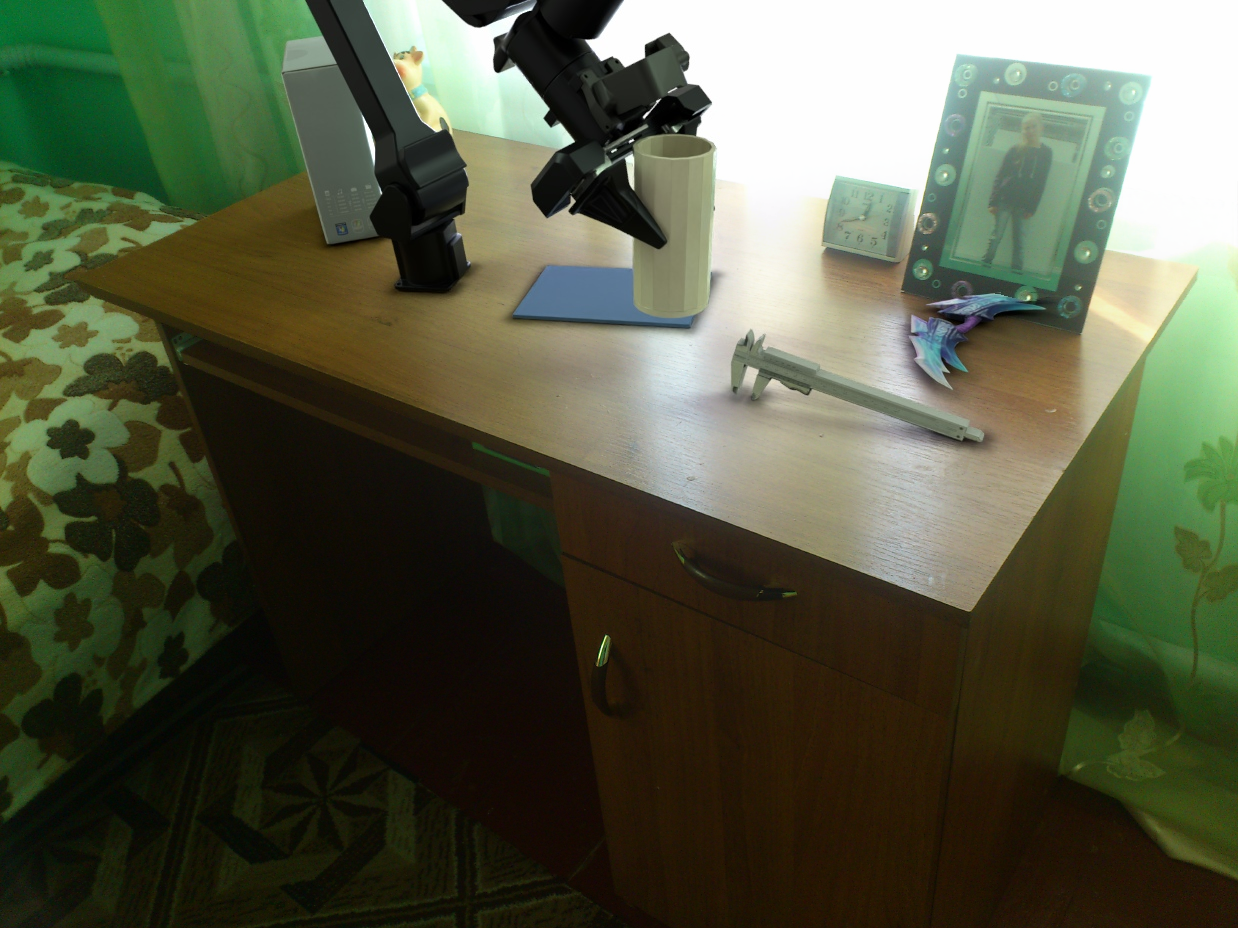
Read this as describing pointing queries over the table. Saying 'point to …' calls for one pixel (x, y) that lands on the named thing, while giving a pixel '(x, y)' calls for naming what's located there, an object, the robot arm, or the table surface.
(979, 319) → the decorative blades
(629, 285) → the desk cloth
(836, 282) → the table surface
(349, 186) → the hard drive box
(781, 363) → the caliper
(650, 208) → the pen cup
